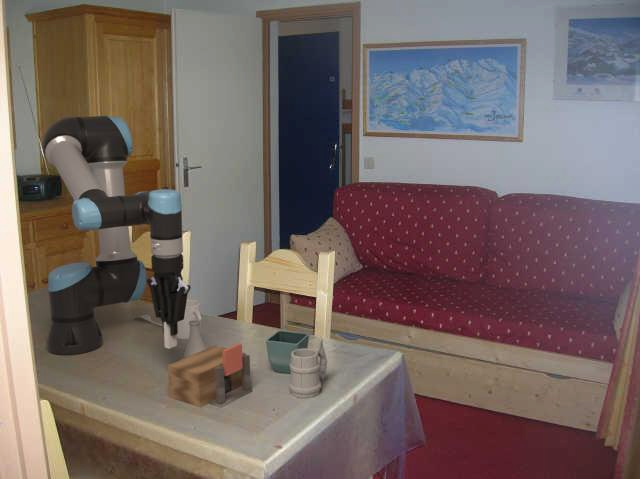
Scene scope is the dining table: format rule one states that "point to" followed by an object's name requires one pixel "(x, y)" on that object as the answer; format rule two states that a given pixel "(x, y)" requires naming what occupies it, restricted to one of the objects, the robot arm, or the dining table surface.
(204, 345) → the flask
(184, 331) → the mug
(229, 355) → the block
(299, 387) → the mug
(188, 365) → the block
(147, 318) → the fork
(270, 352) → the flower pot
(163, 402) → the dining table surface
